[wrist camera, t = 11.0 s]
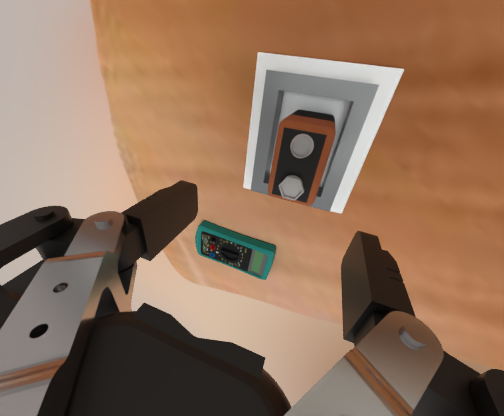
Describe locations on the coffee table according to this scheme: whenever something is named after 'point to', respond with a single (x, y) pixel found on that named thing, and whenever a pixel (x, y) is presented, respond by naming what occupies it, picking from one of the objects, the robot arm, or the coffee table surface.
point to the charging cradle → (323, 101)
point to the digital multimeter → (235, 249)
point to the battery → (301, 156)
